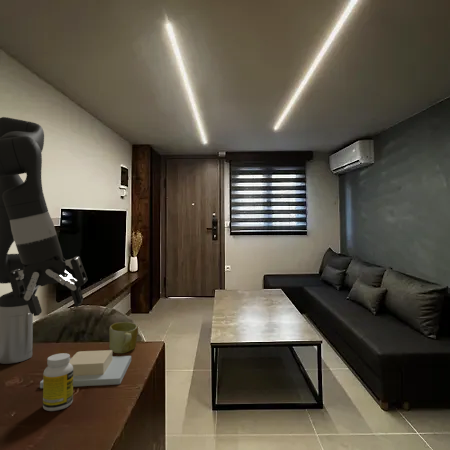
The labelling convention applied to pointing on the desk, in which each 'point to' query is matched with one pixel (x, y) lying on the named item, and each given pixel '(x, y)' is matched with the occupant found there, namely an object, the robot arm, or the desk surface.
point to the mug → (123, 337)
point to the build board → (108, 375)
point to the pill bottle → (58, 382)
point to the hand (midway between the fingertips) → (58, 309)
